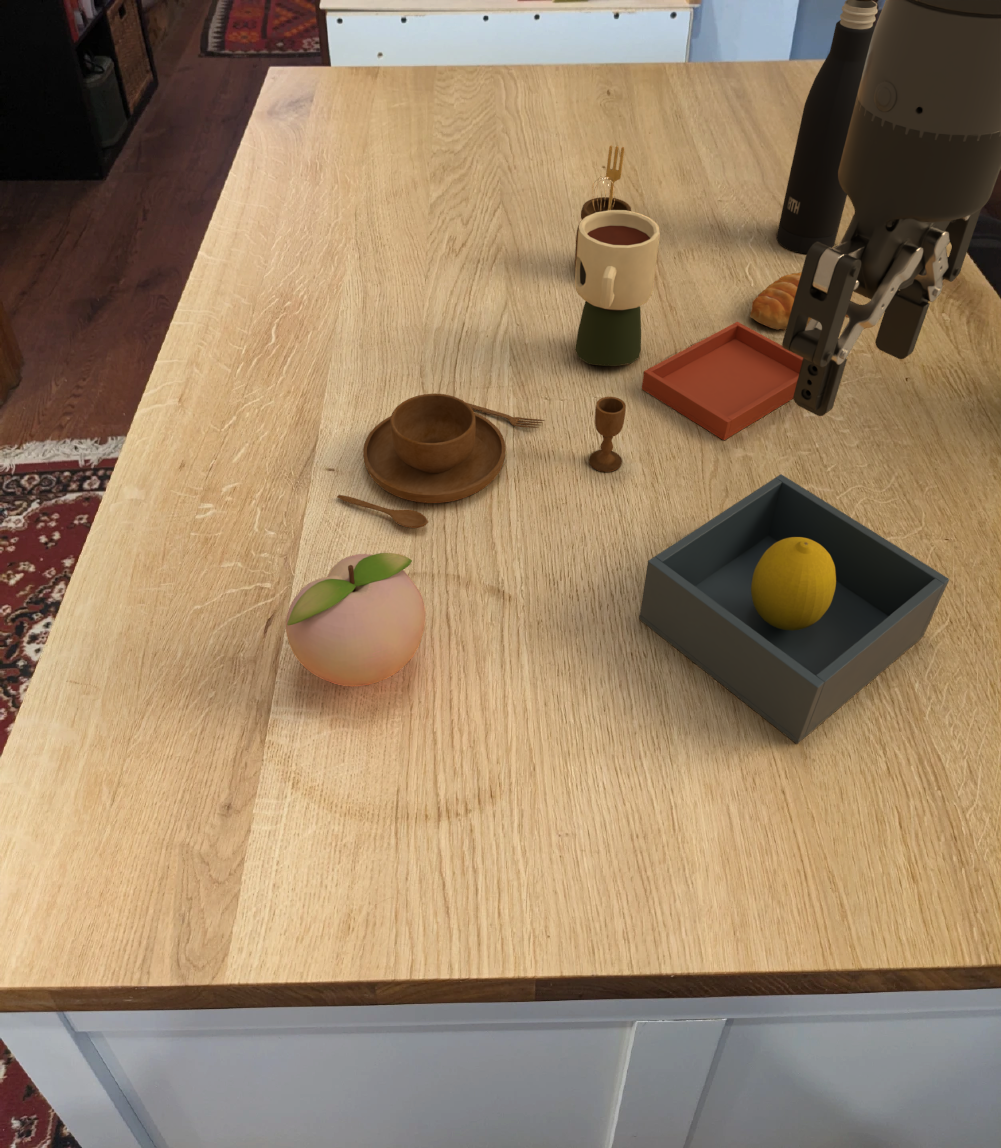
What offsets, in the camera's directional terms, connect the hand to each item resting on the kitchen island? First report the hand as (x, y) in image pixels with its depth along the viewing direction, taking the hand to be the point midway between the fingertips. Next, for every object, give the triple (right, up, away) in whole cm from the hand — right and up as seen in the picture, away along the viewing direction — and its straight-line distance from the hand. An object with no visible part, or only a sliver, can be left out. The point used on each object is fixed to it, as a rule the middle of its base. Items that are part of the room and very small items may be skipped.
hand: (853, 379), depth 60 cm
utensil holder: (-10, +21, +49) cm, 54 cm away
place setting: (-23, -4, +25) cm, 34 cm away
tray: (0, +6, +34) cm, 34 cm away
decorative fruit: (-30, -18, +10) cm, 37 cm away
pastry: (+9, +15, +43) cm, 46 cm away
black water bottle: (+13, +26, +54) cm, 61 cm away
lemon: (-1, -15, +13) cm, 20 cm away
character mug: (-11, +9, +38) cm, 40 cm away
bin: (-1, -15, +13) cm, 20 cm away
